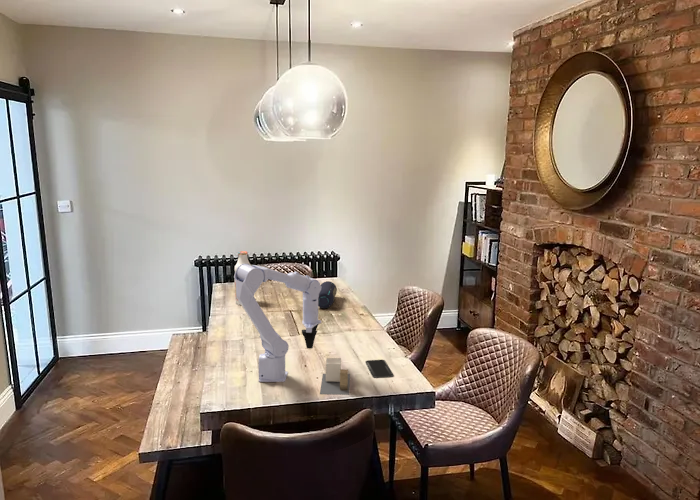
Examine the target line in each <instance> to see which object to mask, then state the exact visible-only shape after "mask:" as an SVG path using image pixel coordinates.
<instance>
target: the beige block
mask: <svg viewBox="0 0 700 500" xmlns="http://www.w3.org/2000/svg"><path fill="white" fill-rule="evenodd" d="M341 362H342V358H341V357H326V359H325V374H326V381H334V382H340V369H341V370H342V368H341V367H342V363H341Z"/></svg>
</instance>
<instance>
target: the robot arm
mask: <svg viewBox="0 0 700 500" xmlns="http://www.w3.org/2000/svg"><path fill="white" fill-rule="evenodd" d="M233 278H234V283H235V282H236V297H237V299H238V301H239V302H240V304H241V305H240V306H241V307H242V308H243V310H244V312H245V313H246V314H247V316H248V317H249V319H250V321H251V322H252V324H253V326H254V327H255V329H256V331H257V333H258V334H259V338H260V341H261V346H262V347H263V349H264V353H259V357H258V382H259V383H260V382H261V383H262V382H263V383H264V382H266V383H267V382H268V383H278V382H279V383H280V382H281V383H282V382H283V383H285V382H286V379H287V377H288V374H289V372H288V371H286V355H287V353H288V351H289V349H290V348H289V347H290V346H289V343H288V342H287V340H285V339H283V338H282V337H281V336H280V334H278V332H277V331H276V330H275V328H274V327H273V325H272V323H271V321H270V320H269V319H268V318H267V316H266V314H265V313H264V311H263V309H262V308H261V306H260V305H259V303H258V301H257V299H256V298H255V294H256V292H257V290H258V289H259V288H260V287H261V285H262V283H266V282H267V281H269V280H271V281H276V282H279V283H284V285H285V287H286V288H287V289H290V290H291V289H292V290H294V291H299V292H302V325H303V326H304V327H305V329H301V334H302V337H303V338H304V342H305V346H306V349H313V347H314V342H315V338H316V335H317V333H318V330H317V329H318V326H319V325H320V324H322V320H320V319H319V306H318V297H319V293H320V291H321V288H322V286H320V285H321V283H320V281H319V280H318V279H315V278H313V277H310V275H307V274H306V275H303V274H301V273H299V272H297V271H294V272H293V271H291V272H288V273H287V274H286V273H283V272H280V271H277V270H275V269H271V268H269V267H266V266H262V265H256V264H251V266H250V265H249V264H241V265H240V266H238V268H237V270H236V272H235V271H234V275H233Z"/></svg>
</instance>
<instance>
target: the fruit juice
mask: <svg viewBox="0 0 700 500" xmlns="http://www.w3.org/2000/svg"><path fill="white" fill-rule="evenodd" d="M237 255H238V258H237V262H236V264H235V265H234V273H235V272H236V270H237V268H238V266H240V265H241V264H249V265H250V266H252V264H251V263H250V261H249V259H248V251H245V250H244V251H243V250H241V251H238V252H237ZM234 301H235V304H236V305H238V306H242V305H241V304H240V302H239V301H238V299H237V297H236V282H235V281H234Z"/></svg>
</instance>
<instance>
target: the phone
mask: <svg viewBox="0 0 700 500" xmlns="http://www.w3.org/2000/svg"><path fill="white" fill-rule="evenodd" d="M365 365H366V366H367V369H368V370H369V372H370V374H371V377H372V378H374V379H383V378H393V377H394V373H393V372H392V370H391V369H390V367H389V365H388V363H387V362H386V360H385V359H370V360H369V359H368V360H365Z"/></svg>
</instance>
